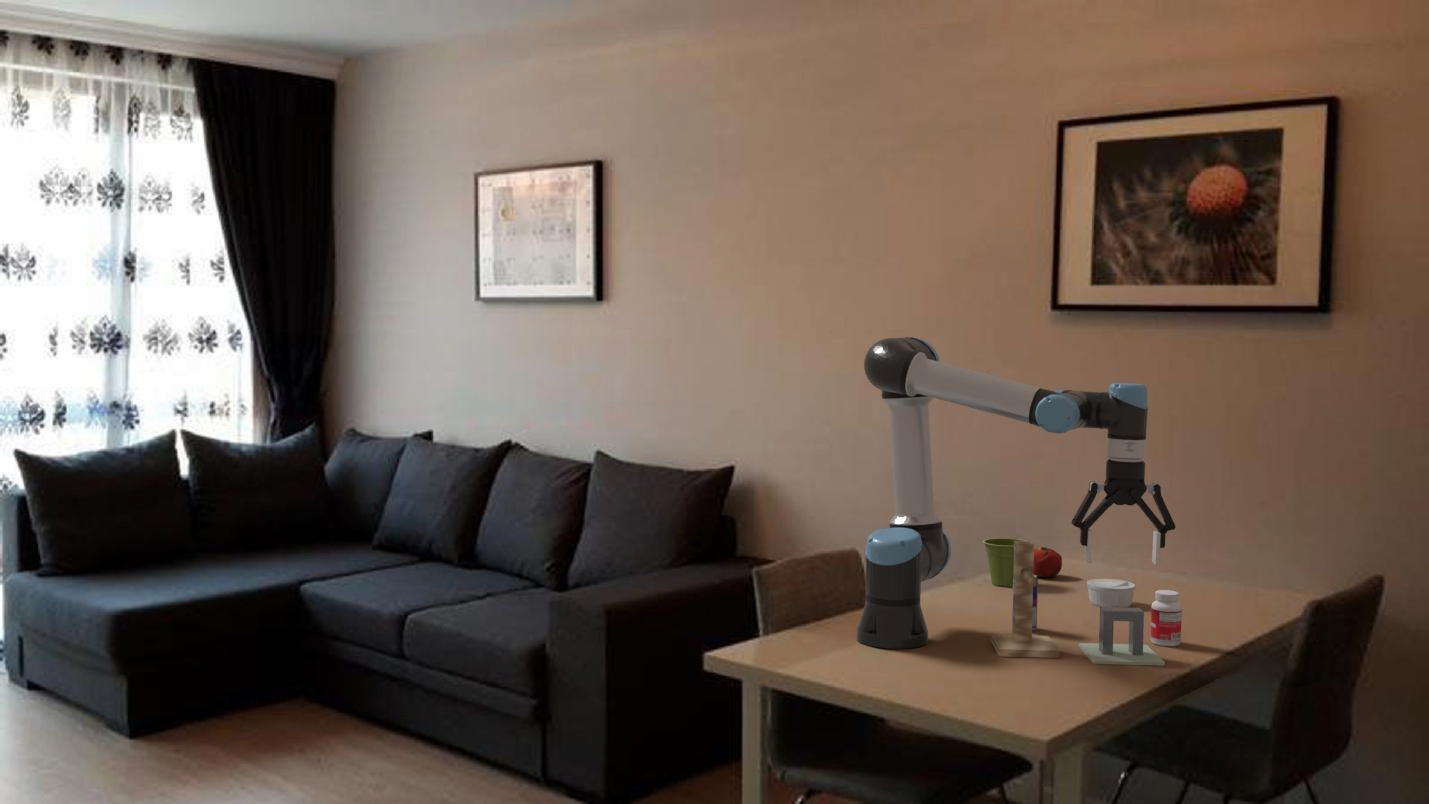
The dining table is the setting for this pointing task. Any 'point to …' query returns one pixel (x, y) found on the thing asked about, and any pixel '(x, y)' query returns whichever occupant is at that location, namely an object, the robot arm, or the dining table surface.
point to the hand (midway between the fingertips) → (1121, 562)
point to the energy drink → (1034, 612)
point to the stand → (1023, 612)
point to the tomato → (1046, 562)
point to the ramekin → (1110, 592)
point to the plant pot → (1001, 560)
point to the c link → (1135, 628)
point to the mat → (1121, 655)
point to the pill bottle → (1166, 619)
